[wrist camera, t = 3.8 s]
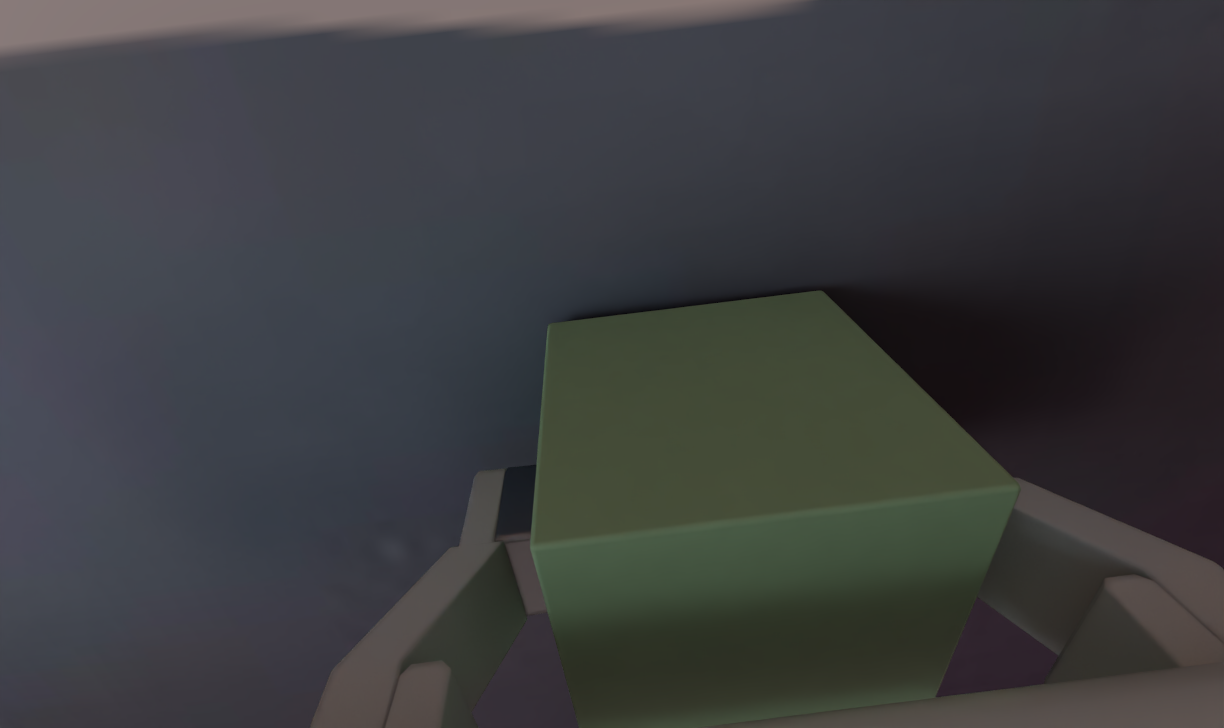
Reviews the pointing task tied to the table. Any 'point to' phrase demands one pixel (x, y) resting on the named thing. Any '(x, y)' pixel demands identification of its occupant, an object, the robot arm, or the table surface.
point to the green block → (751, 516)
